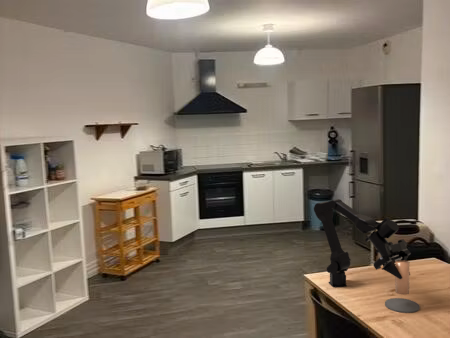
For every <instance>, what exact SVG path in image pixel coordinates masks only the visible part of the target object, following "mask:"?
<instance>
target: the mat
mask: <svg viewBox="0 0 450 338" xmlns="http://www.w3.org/2000/svg"><path fill="white" fill-rule="evenodd" d="M384 305H385V307H386V308H387V309H388V310H390V311H393V312H396V313H403V314H413V313H417V312H419V311H420V307H421V306H420V304H419V303H418V302H416V301H414V300H412V299H408V298H402V297H401V298H400V297H393V298H389V299H386V300H385V301H384Z"/></svg>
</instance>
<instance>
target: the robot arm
mask: <svg viewBox="0 0 450 338" xmlns="http://www.w3.org/2000/svg"><path fill="white" fill-rule="evenodd" d="M334 210H335V211H336V212H338V213H339V214H341V215H342V216H344V217H345V218H346V219H348V220H349V221H351V223H353V224H354V226H355V228H356V229H357V230H358V231H359V232H360V233H362V234H366V235H365V240H364V242H366V243H368V242H371V244H372V245H373V246H374V248H375V253H376V254H379V255H380V256H379V257H378V258H377V259H376V260H375V261H374V262H373V263H372V264H373V267H374V269H375V270H383V271H384V272H386V273H389V274H390V275H392V276H394V277H395V276H396V277H397V278H399V279H402V276H401V274H400V273H399V271H398V269H397V268H396V261H397V260H406V261H408V257H409V256H410V255H411V254H412V252H411V251H410V250H409V249H408V248H407V246H408V242H406V241H405V240H404V238H402V239H399V240H397V243H393V242H392V241H388V240H387V239H390V238H391V237H392V236H393V235H394V234H396V233H397V232H398V231H399V230H400V228H399V225H398V223H397V222H395V221H394V220H392V219H390V217H384V218H383V219H382V221H381V222H379V221H377V220H376V219H374V218H372V217H370V216H369V215H365V214H361V213H360V212H358V211H357V210H355V209H354V208H352V207H351V206H350V205H348V204H347V203H345V202H344V201H343V200H342V199H339V198H336V199H332V200H330V201H322V202H317V203H316V204H314V207H313V212H314V214H315V216H316V219H318V220H319V221H320V222H321V224H322V227H323V231H324V233H325V234H324V235H325V236H326V239H327V242H328V245H329V248H330V252H331V253H330V257H329V258H330V264H329V265H328V266H327V267H326V271H327V273H329V281H328V282H327V283H328V284H329V285H331V287H333V288H341V287H347V286H348V285H347V275H346V272H347V271H348V269H349V268H350V266H351V261H352V260H351V258H350V255H349V252H348V251H345V250H344V249H342V246H341V243H340V240H339V239H340V238H339V235H338V233H337V230H336V226H335V224H334V221H333V216H334ZM368 233H370V234H368ZM410 276H411V272H410V271H409V277H410Z"/></svg>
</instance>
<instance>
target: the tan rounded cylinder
mask: <svg viewBox="0 0 450 338" xmlns="http://www.w3.org/2000/svg"><path fill="white" fill-rule="evenodd" d="M395 264H396V265H395V266H396V268H397V269H398V271H399V273H400V274H401V276H402V279H399V278H397V277H396V276H394V277H395V284H394V285H395V293H396V294H398V295H404V296H406V295H409V294H410V276H409V272H410V267H411V266H410V265H411V264H410V261H409V260H397V261H395Z"/></svg>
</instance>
